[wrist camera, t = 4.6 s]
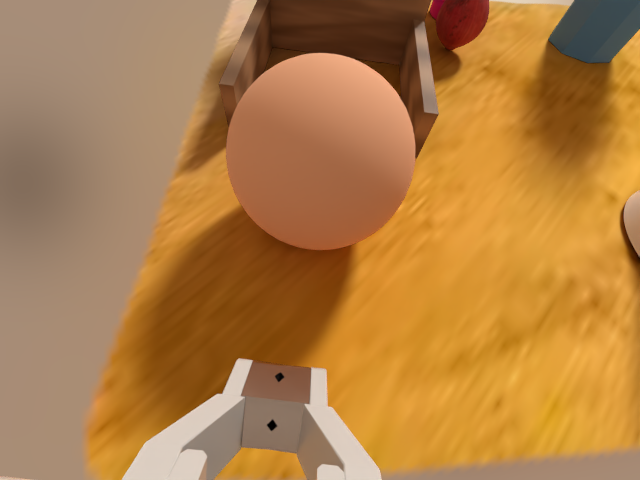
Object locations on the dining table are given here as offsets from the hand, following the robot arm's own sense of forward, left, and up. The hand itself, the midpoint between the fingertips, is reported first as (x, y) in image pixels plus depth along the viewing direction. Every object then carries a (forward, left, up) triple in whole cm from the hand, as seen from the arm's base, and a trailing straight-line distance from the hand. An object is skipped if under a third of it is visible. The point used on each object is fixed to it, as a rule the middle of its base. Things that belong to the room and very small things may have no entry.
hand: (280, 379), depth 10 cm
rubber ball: (+9, -10, -3) cm, 14 cm away
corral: (+21, -21, -9) cm, 31 cm away
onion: (+20, -41, -9) cm, 47 cm away
